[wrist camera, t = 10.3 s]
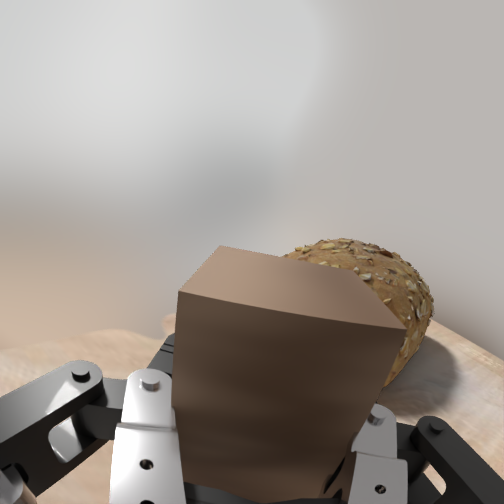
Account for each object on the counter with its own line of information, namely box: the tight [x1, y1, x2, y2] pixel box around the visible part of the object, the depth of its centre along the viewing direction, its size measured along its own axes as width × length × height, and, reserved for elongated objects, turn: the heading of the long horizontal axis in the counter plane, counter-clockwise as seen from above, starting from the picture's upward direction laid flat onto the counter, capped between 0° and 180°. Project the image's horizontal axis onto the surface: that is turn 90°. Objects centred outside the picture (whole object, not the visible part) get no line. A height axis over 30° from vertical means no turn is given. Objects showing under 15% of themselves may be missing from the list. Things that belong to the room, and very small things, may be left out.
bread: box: [282, 238, 435, 387], centre depth 34 cm, size 24×21×12 cm
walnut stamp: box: [171, 246, 407, 503], centre depth 9 cm, size 9×9×12 cm
